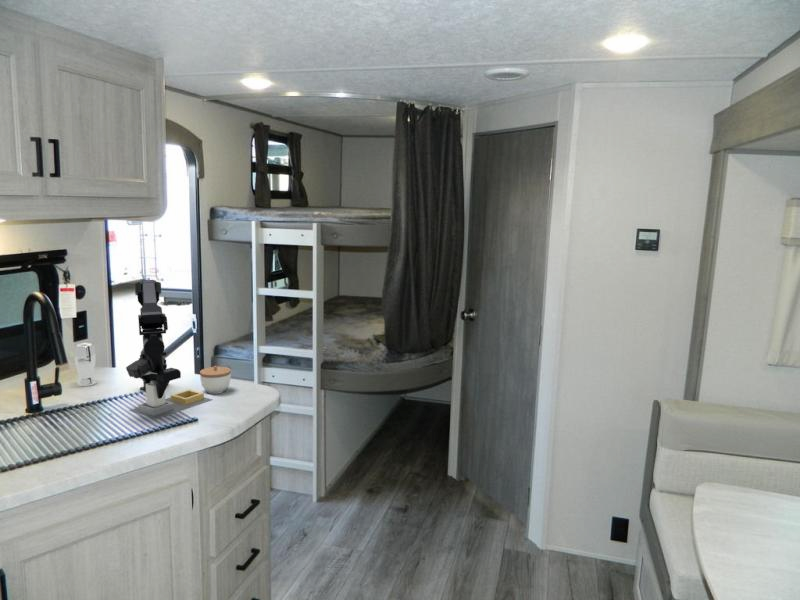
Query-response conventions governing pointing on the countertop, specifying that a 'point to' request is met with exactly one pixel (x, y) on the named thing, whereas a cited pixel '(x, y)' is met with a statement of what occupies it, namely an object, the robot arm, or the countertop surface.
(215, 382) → the lidded jar
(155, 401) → the plug
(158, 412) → the multicoloured flat piece
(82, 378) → the beer glass
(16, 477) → the countertop surface
